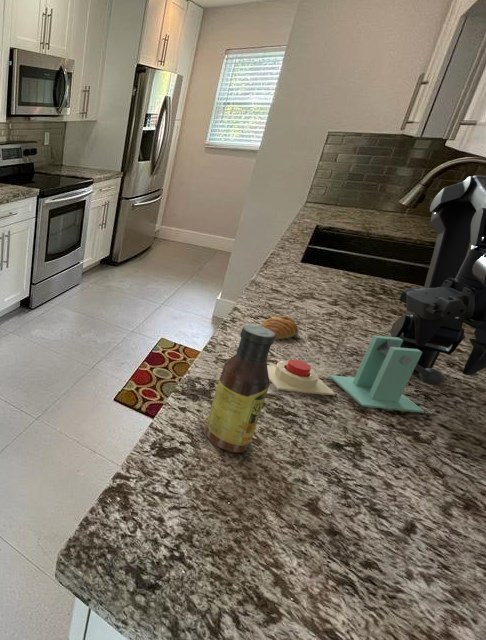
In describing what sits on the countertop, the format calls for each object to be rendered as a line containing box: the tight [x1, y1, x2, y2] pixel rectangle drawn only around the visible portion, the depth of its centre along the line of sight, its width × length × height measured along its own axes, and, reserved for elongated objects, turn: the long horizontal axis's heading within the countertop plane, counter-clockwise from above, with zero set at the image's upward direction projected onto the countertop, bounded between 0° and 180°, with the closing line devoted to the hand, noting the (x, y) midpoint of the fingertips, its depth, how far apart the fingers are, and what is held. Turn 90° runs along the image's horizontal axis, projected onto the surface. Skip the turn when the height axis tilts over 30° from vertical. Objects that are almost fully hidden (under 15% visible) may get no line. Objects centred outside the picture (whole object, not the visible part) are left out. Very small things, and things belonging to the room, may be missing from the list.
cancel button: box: [286, 358, 312, 377], centre depth 80 cm, size 4×4×2 cm
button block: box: [267, 360, 336, 396], centre depth 80 cm, size 10×8×3 cm
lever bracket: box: [329, 335, 425, 414], centre depth 76 cm, size 10×9×12 cm
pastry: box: [261, 314, 299, 340], centre depth 99 cm, size 9×7×4 cm
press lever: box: [377, 341, 445, 386], centre depth 74 cm, size 12×3×3 cm, turn 83°
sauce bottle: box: [205, 324, 275, 454], centre depth 62 cm, size 7×6×20 cm
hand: (441, 359), depth 73 cm, fingers open, 9 cm apart
